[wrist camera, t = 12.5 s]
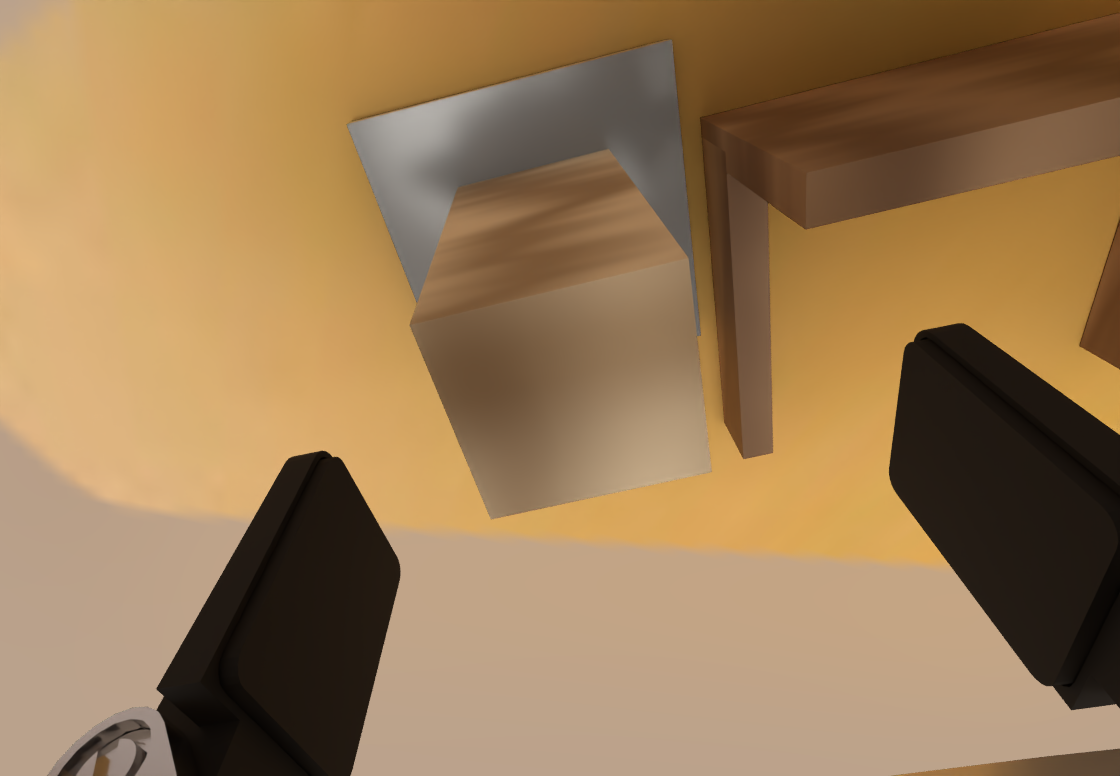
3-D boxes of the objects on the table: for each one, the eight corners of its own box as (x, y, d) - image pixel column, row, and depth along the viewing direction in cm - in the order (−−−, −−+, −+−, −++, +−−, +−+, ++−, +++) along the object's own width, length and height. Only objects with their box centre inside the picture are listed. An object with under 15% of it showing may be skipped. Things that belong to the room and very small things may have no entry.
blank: (608, 149, 18) (688, 257, 10) (632, 290, 21) (712, 472, 12) (457, 187, 18) (409, 325, 10) (500, 322, 21) (490, 519, 13)
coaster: (667, 38, 17) (671, 39, 17) (696, 328, 23) (700, 335, 22) (351, 121, 18) (346, 124, 17) (453, 383, 23) (451, 391, 23)
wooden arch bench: (1234, -17, 17) (1688, -40, 11) (1109, 339, 24) (1338, 462, 17) (700, 117, 18) (806, 173, 12) (724, 422, 25) (800, 568, 18)
